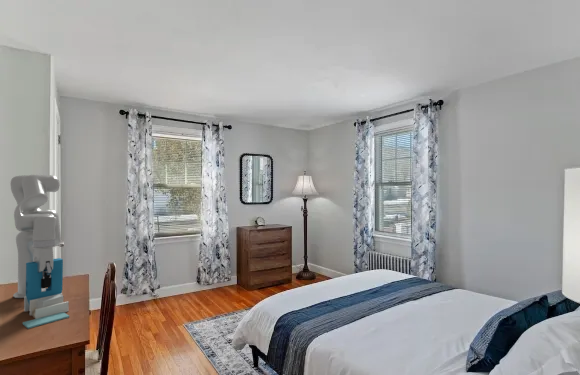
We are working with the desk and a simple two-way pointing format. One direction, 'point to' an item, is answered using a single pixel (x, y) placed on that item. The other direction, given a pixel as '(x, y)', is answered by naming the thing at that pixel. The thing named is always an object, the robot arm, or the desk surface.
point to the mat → (45, 320)
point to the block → (35, 278)
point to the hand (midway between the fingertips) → (43, 285)
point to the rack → (45, 310)
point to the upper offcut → (49, 301)
